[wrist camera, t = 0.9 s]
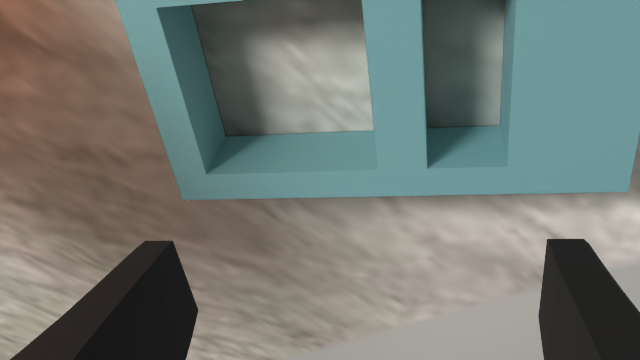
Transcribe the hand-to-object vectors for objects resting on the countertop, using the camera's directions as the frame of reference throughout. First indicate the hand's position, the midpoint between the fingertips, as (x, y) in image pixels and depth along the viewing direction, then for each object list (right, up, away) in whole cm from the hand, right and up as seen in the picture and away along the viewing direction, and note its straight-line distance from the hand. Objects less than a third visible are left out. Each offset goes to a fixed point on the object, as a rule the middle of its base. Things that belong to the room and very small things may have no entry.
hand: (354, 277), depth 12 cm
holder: (+1, +6, +8) cm, 10 cm away
